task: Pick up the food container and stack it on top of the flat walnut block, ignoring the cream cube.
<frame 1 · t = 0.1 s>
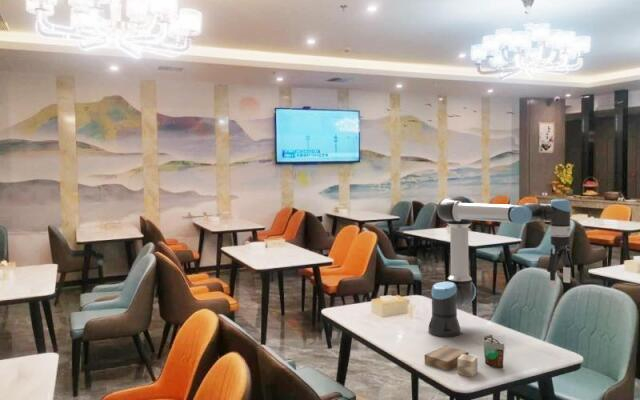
hand: (560, 285, 224), 28 cm above the table, fingers open, 13 cm apart
cream cube: (467, 372, 203), on the table
base block: (446, 362, 215), on the table
food container: (490, 364, 211), on the table
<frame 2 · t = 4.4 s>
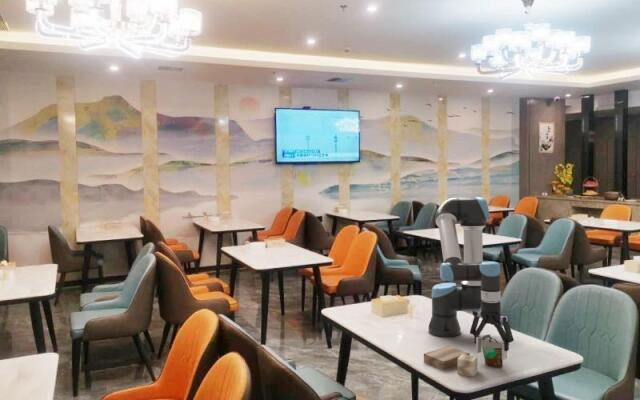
hand: (491, 355, 210), 4 cm above the table, fingers closed on food container, 10 cm apart
food container: (490, 364, 211), on the table, touching gripper
when the fingers open (8 cm above the table, at t = 10.4 s): food container drops 1 cm, point 3 cm above the table.
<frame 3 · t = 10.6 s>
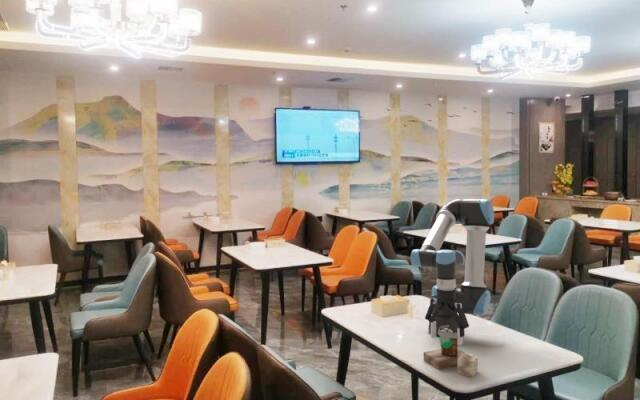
hand: (446, 340, 214), 9 cm above the table, fingers open, 12 cm apart
food container: (446, 353, 215), point 3 cm above the table, touching gripper
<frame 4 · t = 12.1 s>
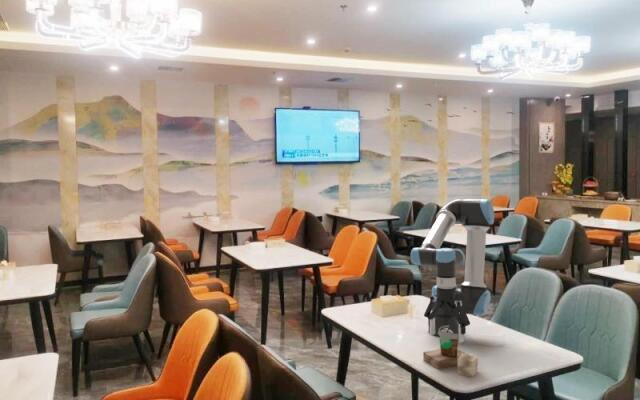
hand: (446, 338, 214), 10 cm above the table, fingers open, 13 cm apart
food container: (445, 354, 214), point 3 cm above the table
everything else where it was.
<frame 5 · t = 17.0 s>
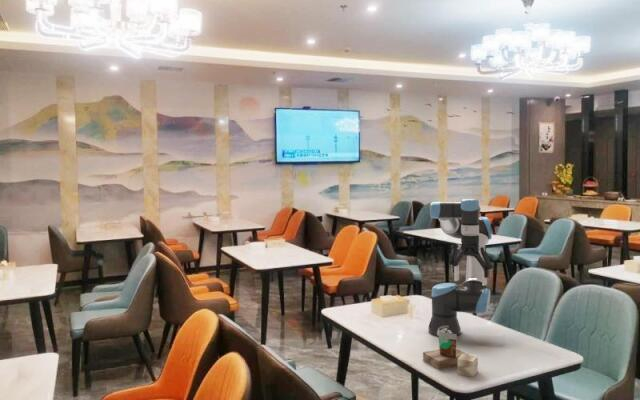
hand: (470, 282, 229), 29 cm above the table, fingers open, 13 cm apart
base block: (446, 363, 215), on the table, touching food container
food container: (444, 354, 214), point 3 cm above the table, touching base block
everything else where it was.
at the end: food container 0.7 cm from the base block (horizontally); food container touching base block; food container tilted 0° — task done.
